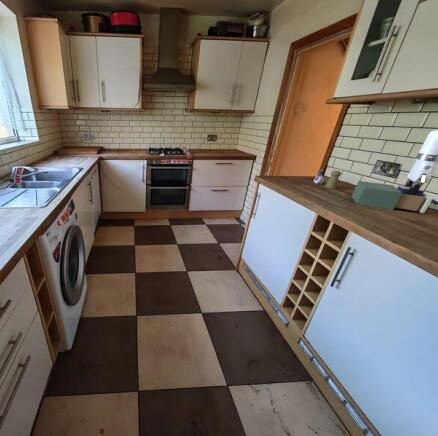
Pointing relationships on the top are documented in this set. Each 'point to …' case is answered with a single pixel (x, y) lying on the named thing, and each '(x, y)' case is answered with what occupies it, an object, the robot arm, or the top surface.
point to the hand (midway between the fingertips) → (408, 193)
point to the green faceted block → (376, 195)
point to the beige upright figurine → (333, 179)
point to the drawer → (415, 202)
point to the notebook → (405, 189)
